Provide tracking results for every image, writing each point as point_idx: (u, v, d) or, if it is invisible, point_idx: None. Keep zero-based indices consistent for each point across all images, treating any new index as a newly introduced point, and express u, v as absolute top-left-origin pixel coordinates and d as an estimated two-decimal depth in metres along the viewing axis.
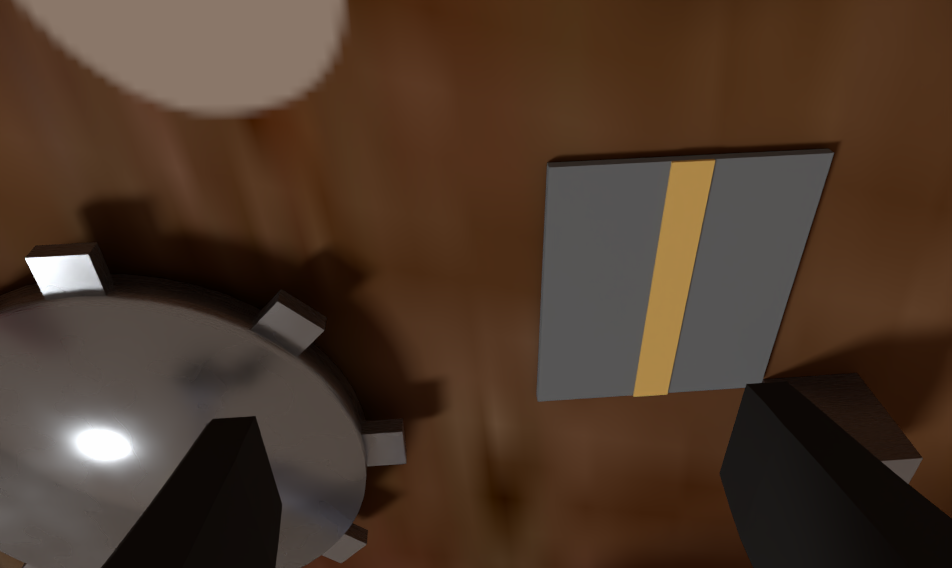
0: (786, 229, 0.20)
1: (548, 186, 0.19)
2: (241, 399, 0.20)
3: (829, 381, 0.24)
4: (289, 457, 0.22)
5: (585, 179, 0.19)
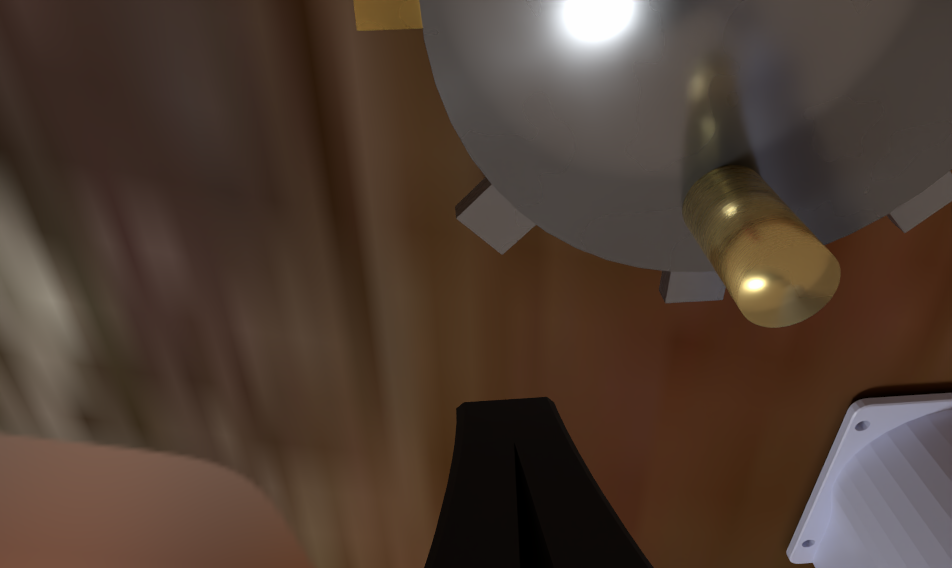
0: None
1: None
2: None
3: None
4: None
5: None
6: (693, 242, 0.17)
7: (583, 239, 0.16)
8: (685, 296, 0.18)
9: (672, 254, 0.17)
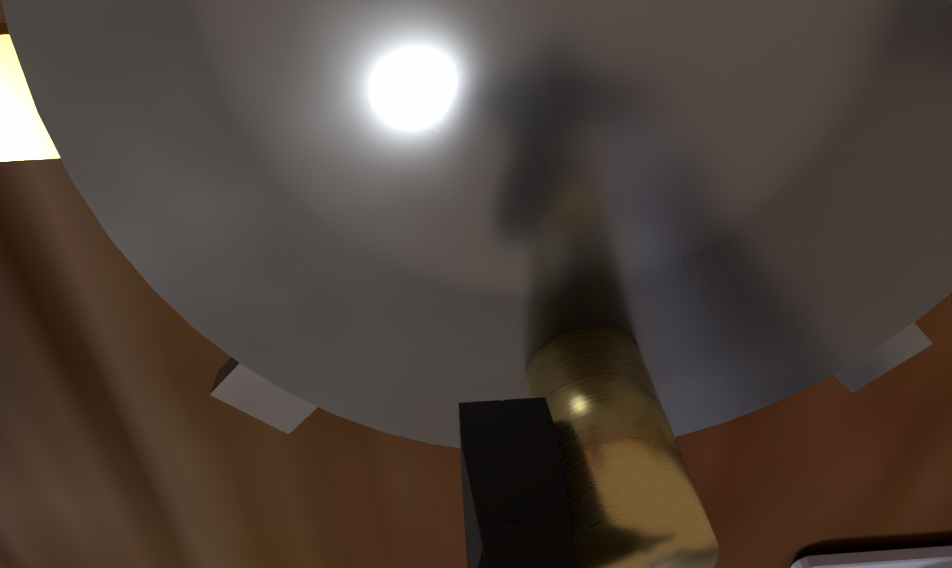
0: None
1: None
2: None
3: None
4: None
5: None
6: None
7: (390, 421, 0.12)
8: None
9: None
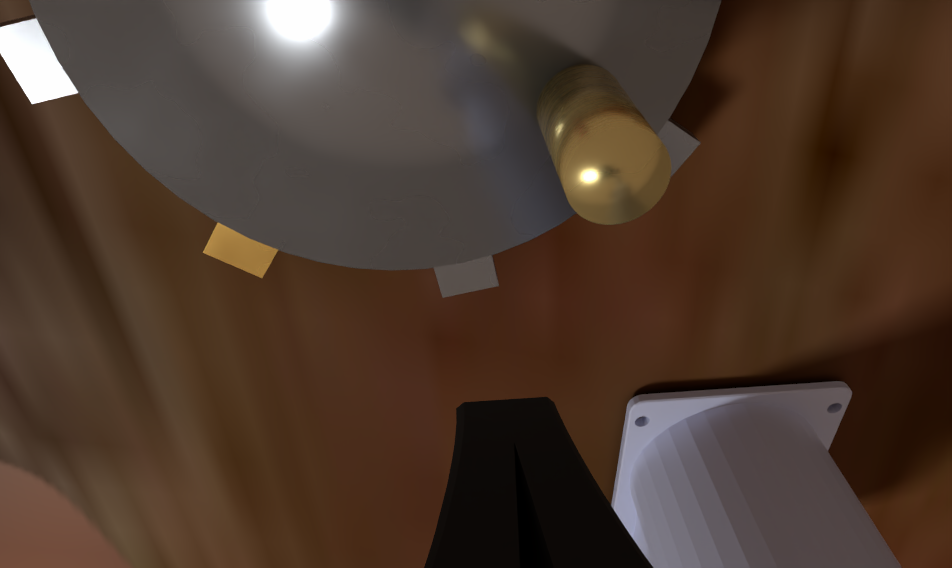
0: None
1: None
2: None
3: None
4: None
5: None
6: None
7: (523, 232, 0.17)
8: None
9: None
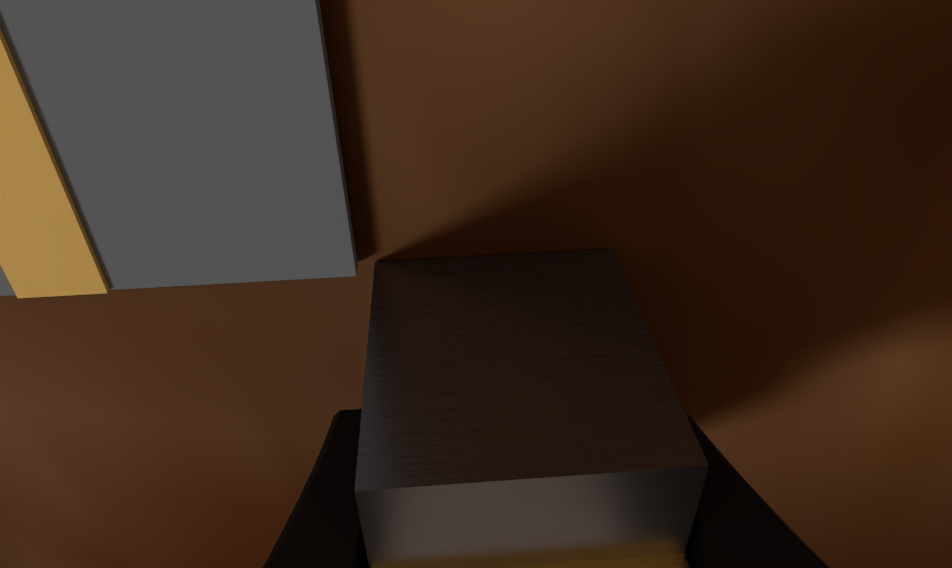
0: None
1: None
2: None
3: (535, 271, 0.09)
4: None
5: None
6: None
7: None
8: None
9: None
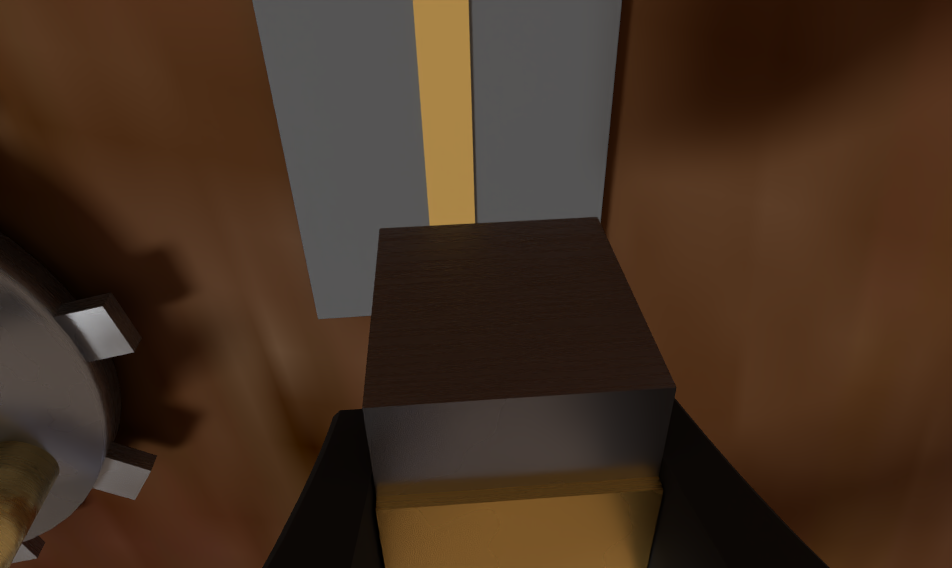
0: (583, 81, 0.16)
1: (256, 12, 0.14)
2: None
3: (526, 234, 0.10)
4: None
5: (301, 1, 0.14)
6: (56, 486, 0.20)
7: None
8: (133, 489, 0.21)
9: (63, 498, 0.20)
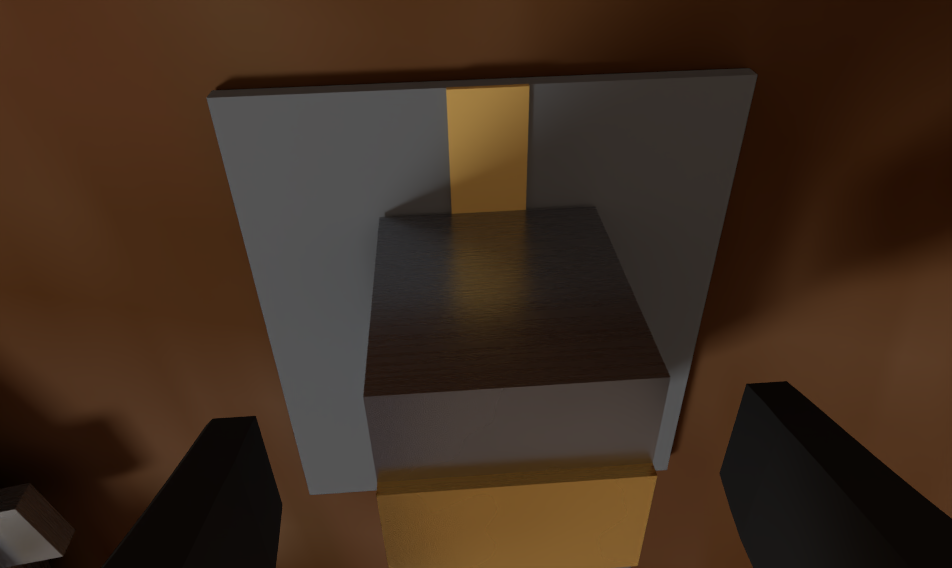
0: (682, 220, 0.11)
1: (218, 136, 0.10)
2: None
3: (523, 224, 0.10)
4: None
5: (285, 122, 0.10)
6: None
7: None
8: None
9: None
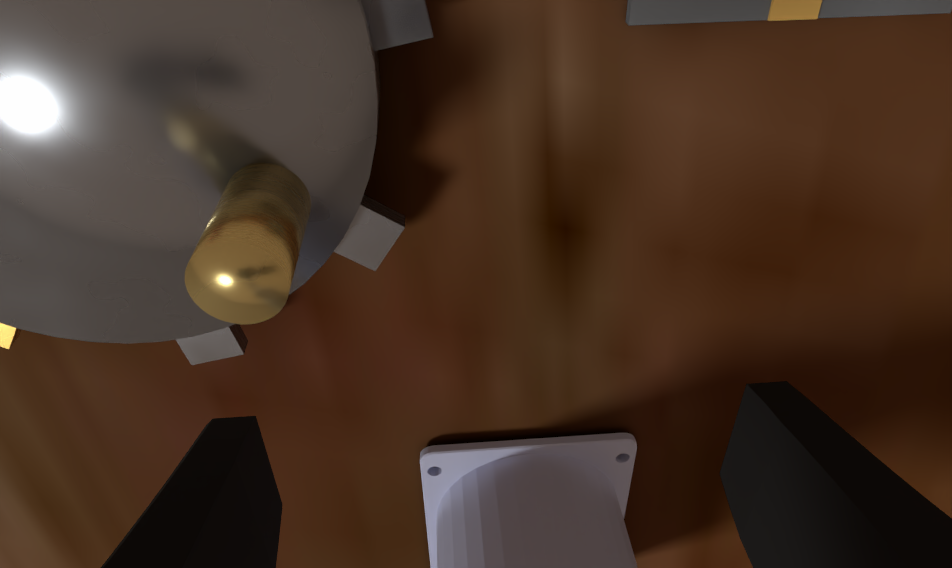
0: None
1: None
2: None
3: None
4: None
5: None
6: None
7: None
8: (378, 254, 0.18)
9: (304, 256, 0.17)
